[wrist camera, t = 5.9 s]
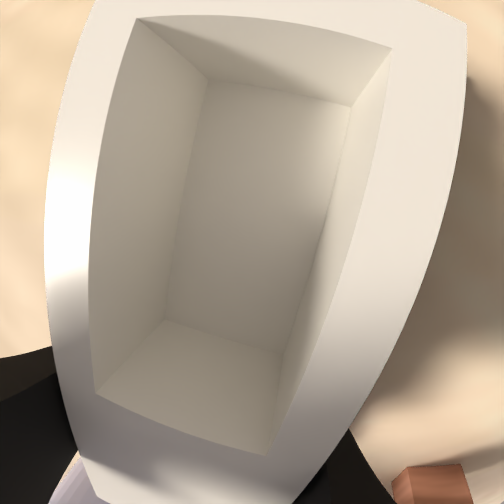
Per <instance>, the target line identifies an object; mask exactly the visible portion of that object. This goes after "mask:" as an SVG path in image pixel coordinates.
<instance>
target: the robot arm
mask: <svg viewBox="0 0 504 504" xmlns="http://www.w3.org/2000/svg"><path fill="white" fill-rule="evenodd" d="M77 451H78V448H77V445H76V442H75V439H74V436H73V433H72V430H71V426H70V423H69V420H68V416H67V412H66V409H65V405H64V401H63V397H62V393H61V389H60V384H59V380H58V375H57V370H56V365H55V360H54V354H53V348H52V346H50V347H46V348H43V349H40V350H36V351H33V352H29V353H25V354H21V355H16V356H11V357H5V358H0V504H110V503H108V502H106V501H104V500H102V499H101V498H99V497H97V495H96V493H95V491H94V489H93V486H92V484H91V482H90V479H89V477H88V475H87V472H86V470H85V467H84V464H83V462H82V459H81V456H80V458H79V459H78V460H77V462H76V463H75V464H74V466H73V467H72V468H71V470H70V471H69V472H68V474H67V475H66V476H65V478H64V479H63V480H62V482H61V483H60V484H59V486H58V487H57V485H58V483H59V481H60V479H61V477H62V476H63V474H64V472H65V470H66V469H67V467H68V465H69V464H70V462H71V460H72V459H73V457H74V455H75V454H76V452H77ZM56 487H57V488H56ZM55 489H56V490H55ZM292 504H397V503H396V502H395V501H394V500H393V498H392V497H391V496H390V494H389V493H388V492H387V491H386V489H385V488H384V487H383V485H382V484H381V483H380V481H379V480H378V478H377V477H376V475H375V474H374V472H373V471H372V469H371V467H370V466H369V464H368V462H367V461H366V459H365V457H364V456H363V454H362V452H361V450H360V449H359V447H358V445H357V443H356V441H355V439H354V437H353V435H352V434H351V432H350V430H349V428H348V429H347V431H346V432H345V434H344V435H343V437H342V438H341V440H340V441H339V443H338V444H337V446H336V447H335V449H334V450H333V451H332V453H331V454H330V456H329V457H328V458H327V460H326V461H325V463H324V464H323V465H322V467H321V468H320V469H319V471H318V472H317V473H316V474H315V476H314V477H313V478H312V480H311V481H310V482H309V483H308V485H307V486H306V487H305V488H304V490H303V491H302V492H301V493H300V494H299V496H298V497H297V498H296V499H295V500H294V501H293V503H292Z"/></svg>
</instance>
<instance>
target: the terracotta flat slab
mask: <svg viewBox="0 0 504 504" xmlns="http://www.w3.org/2000/svg"><path fill="white" fill-rule="evenodd" d="M392 488H393V495H394V501H395V502H396V503H397V504H473V500H472V497H471V494H470V490H469V487H468V484H467V481H466V478H465V475H464V472H463V469H462V466H461V464H457V465H445V466H428V467H407V468H406V469H405V470H404V471H403V472H402V473H401V474H400V475H399V476H398V477H397V478H396V479H395V480H394V481H393V482H392Z"/></svg>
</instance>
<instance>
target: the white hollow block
mask: <svg viewBox="0 0 504 504" xmlns="http://www.w3.org/2000/svg"><path fill="white" fill-rule="evenodd" d="M466 75H467V24H466V23H464V22H462V21H460V20H458V19H456V18H454V17H452V16H450V15H448V14H446V13H444V12H442V11H440V10H438V9H436V8H433V7H431V6H429V5H427V4H424V3H422V2H419V1H417V0H95V2H94V5H93V7H92V9H91V11H90V14H89V16H88V19H87V21H86V24H85V26H84V29H83V31H82V34H81V37H80V39H79V42H78V45H77V48H76V51H75V54H74V57H73V60H72V63H71V66H70V70H69V73H68V77H67V80H66V84H65V88H64V92H63V95H62V100H61V104H60V108H59V113H58V117H57V122H56V127H55V133H54V138H53V144H52V151H51V158H50V165H49V173H48V183H47V194H46V208H45V233H44V259H45V284H46V298H47V310H48V319H49V327H50V335H51V342H52V348H53V354H54V360H55V365H56V370H57V375H58V380H59V384H60V389H61V393H62V397H63V401H64V405H65V409H66V412H67V416H68V420H69V423H70V426H71V430H72V433H73V436H74V439H75V442H76V445H77V448H78V451H79V454H80V456H81V459H82V462H83V464H84V467H85V470H86V472H87V475H88V477H89V479H90V482H91V484H92V486H93V489H94V491H95V493H96V495H97V497H99V498H101V499H102V500H104V501H106V502H108V503H110V504H292V503H293V501H294V500H295V499H296V498H297V497H298V496H299V494H300V493H301V492H302V491H303V490H304V488H305V487H306V486H307V485H308V483H309V482H310V481H311V480H312V478H313V477H314V476H315V474H316V473H317V472H318V471H319V469H320V468H321V467H322V465H323V464H324V463H325V461H326V460H327V458H328V457H329V456H330V454H331V453H332V451H333V450H334V449H335V447H336V446H337V444H338V443H339V441H340V440H341V438H342V437H343V435H344V434H345V432H346V431H347V429H348V428H349V426H350V425H351V423H352V422H353V420H354V418H355V417H356V415H357V414H358V412H359V410H360V409H361V407H362V405H363V404H364V402H365V400H366V399H367V397H368V395H369V393H370V392H371V390H372V388H373V386H374V385H375V383H376V381H377V379H378V377H379V375H380V374H381V372H382V370H383V368H384V366H385V364H386V362H387V360H388V358H389V356H390V354H391V352H392V350H393V348H394V346H395V344H396V342H397V340H398V338H399V335H400V333H401V331H402V329H403V327H404V324H405V322H406V320H407V318H408V315H409V313H410V311H411V308H412V306H413V303H414V301H415V299H416V296H417V294H418V291H419V288H420V286H421V283H422V281H423V278H424V275H425V272H426V270H427V267H428V264H429V261H430V258H431V255H432V252H433V249H434V246H435V243H436V239H437V236H438V233H439V230H440V226H441V223H442V219H443V215H444V212H445V208H446V204H447V200H448V196H449V192H450V188H451V183H452V179H453V174H454V169H455V164H456V159H457V153H458V148H459V141H460V135H461V128H462V120H463V112H464V102H465V91H466Z"/></svg>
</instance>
